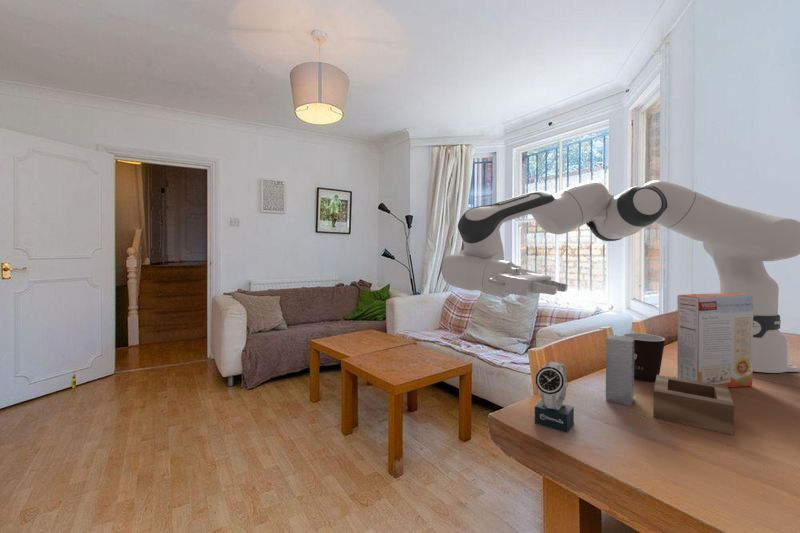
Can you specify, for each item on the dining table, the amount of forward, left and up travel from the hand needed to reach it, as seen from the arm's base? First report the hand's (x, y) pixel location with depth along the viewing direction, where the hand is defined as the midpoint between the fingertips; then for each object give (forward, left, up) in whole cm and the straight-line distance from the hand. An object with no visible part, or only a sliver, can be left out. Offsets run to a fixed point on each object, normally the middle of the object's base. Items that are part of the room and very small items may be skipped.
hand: (561, 289), depth 79 cm
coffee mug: (-22, +13, -23) cm, 34 cm away
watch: (+17, +3, -23) cm, 29 cm away
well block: (-2, +23, -23) cm, 32 cm away
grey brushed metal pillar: (-2, +11, -23) cm, 25 cm away
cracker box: (-25, +27, -23) cm, 43 cm away
